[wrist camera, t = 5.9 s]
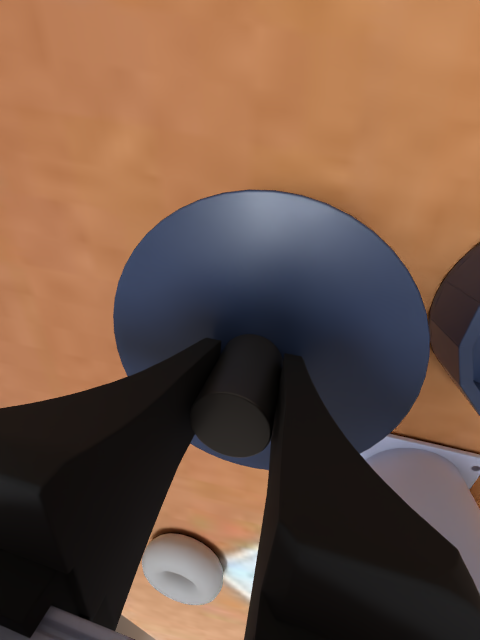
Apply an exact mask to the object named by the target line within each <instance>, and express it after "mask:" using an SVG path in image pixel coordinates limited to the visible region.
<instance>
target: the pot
mask: <svg viewBox="0 0 480 640" xmlns="http://www.w3.org/2000/svg"><path fill="white" fill-rule="evenodd" d="M429 333H430V343H431V346H432V349H433V352H434V354H435V355H436V357H437V359H438V360H439V362H440V363H441V364H442V366H443V367H444V369H445V370H446V372H447V373H448V375H449V376H450V378H451V379H452V380H453V382H454V383H455V384H456V386H457V387H458V388H459V389H460V391H461V392H462V393H463V395H464V396H465V397H466V399H467V400H468V401H469V403H470V404H471V405H472V406H473V408H474V409H475V410H476V412H477V413H478V414H479V416H480V243H479V244H478V245H477V246H475V247H474V248H473V249H472V250H470V251H469V252H468V253H467V254H466V255H465V256H464V257H463V258H462V259H461V260H460V261H459V262H458V263H457V264H456V265H455V266H454V268H453V269H452V270H451V271H450V272H449V273H448V275H447V276H446V278H445V279H444V281H443V282H442V284H441V285H440V287H439V289H438V291H437V293H436V295H435V297H434V300H433V303H432V306H431V310H430V315H429Z"/></svg>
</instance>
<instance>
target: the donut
mask: <svg viewBox="0 0 480 640" xmlns="http://www.w3.org/2000/svg"><path fill="white" fill-rule="evenodd" d="M142 567H143V572H144V575H145V577H146V578H147V580H148V581H149V583H150V584H151V585H152V586H153V587H154V588H155V589H156V590H157V591H159V592H160V593H162V594H163V595H165V596H167V597H169V598H171V599H173V600H175V601H178V602H181V603H184V604H189V605H203V604H206V603H209V602H211V601H212V600H214V599H215V597H216V596H217V595H218V594H219V592H220V591H221V588H222V584H223V568H222V566H221V564H220V562H219V559H218V557H217V556H216V555H215V554H214V553H213V551H212V550H211V549H210V548H208V547H207V546H205V545H204V544H203V543H201V542H200V541H198V540H196V539H194V538H192V537H188V536H185V535H181V534H172V533H169V534H163V535H160V536H158V537H156V538H155V539H153V540H152V541H151V542H150V543H149V544H148V546H147V547H146V549H145V552H144V554H143V557H142Z"/></svg>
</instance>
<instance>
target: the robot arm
mask: <svg viewBox="0 0 480 640" xmlns="http://www.w3.org/2000/svg"><path fill="white" fill-rule="evenodd" d="M220 353H221V340H216V339H211V338H204V339H202V340H200V341H199V342H197V343H195V344H193V345H192V346H190V347H188V348H186V349H184V350H183V351H181V352H179V353H177V354H175V355H173V356H172V357H170V358H168V359H166V360H164V361H162V362H160V363H158V364H155V365H153V366H151V367H149V368H147V369H145V370H143V371H140V372H138V373H136V374H133V375H131V376H128V377H125V378H123V379H120V380H117V381H115V382H112V383H109V384H105V385H102V386H99V387H95V388H92V389H89V390H86V391H82V392H79V393H75V394H71V395H67V396H63V397H58V398H54V399H49V400H45V401H40V402H35V403H30V404H24V405H18V406H12V407H6V408H0V640H135V639H132V638H130V637H127V636H125V635H122V634H120V633H118V632H115V630H116V627H117V624H118V621H119V618H120V616H121V613H122V610H123V607H124V604H125V602H126V599H127V596H128V593H129V591H130V588H131V585H132V582H133V580H134V577H135V574H136V571H137V569H138V566H139V563H140V561H141V558H142V555H143V553H144V550H145V548H146V545H147V542H148V540H149V537H150V534H151V532H152V529H153V527H154V524H155V522H156V519H157V517H158V514H159V512H160V509H161V507H162V504H163V502H164V499H165V497H166V494H167V492H168V489H169V487H170V485H171V482H172V480H173V477H174V475H175V473H176V470H177V468H178V466H179V464H180V462H181V460H182V458H183V456H184V454H185V452H186V450H187V448H188V446H189V444H190V443H191V441H192V439H193V437H194V435H195V433H194V431H193V429H192V427H191V423H190V411H191V407H192V405H193V404H194V402H195V400H196V398H197V396H198V395H199V393H200V391H201V389H202V387H203V386H204V384H205V382H206V380H207V378H208V377H209V375H210V373H211V371H212V370H213V368H214V366H215V364H216V362H217V361H218V359H219V357H220ZM479 476H480V455H479V454H475V453H471V452H467V451H462V450H458V449H454V448H449V447H445V446H441V445H436V444H432V443H428V442H423V441H419V440H415V439H410V438H406V437H402V436H397V435H393V434H388V435H387V436H386V437H385V438H384V439H383V440H381V441H380V442H378V443H377V444H375V445H374V446H373V447H371V448H370V449H368V450H366V451H364V452H362V453H360V454H359V453H358V451H357V450H356V449H355V448H354V447H353V445H352V444H351V443H350V442H349V440H348V439H347V438H346V436H345V435H344V434H343V432H342V431H341V429H340V428H339V427H338V425H337V424H336V422H335V421H334V419H333V418H332V416H331V415H330V413H329V411H328V410H327V408H326V406H325V405H324V403H323V401H322V399H321V398H320V396H319V394H318V392H317V390H316V388H315V386H314V384H313V382H312V380H311V377H310V375H309V373H308V370H307V368H306V365H305V362H304V359H303V358H302V356H297V355H292V354H287V353H285V354H284V359H283V364H282V370H281V376H280V382H279V390H278V399H277V405H276V411H275V418H274V424H273V430H272V436H271V447H270V462H269V478H268V488H267V497H266V503H265V510H264V516H263V523H262V529H261V536H260V542H259V549H258V555H257V561H256V568H255V574H254V580H253V587H252V593H251V600H250V606H249V612H248V618H247V625H246V631H245V637H244V640H480V509H479V507H478V505H477V503H476V502H475V500H474V498H473V496H472V494H471V492H470V488H471V487H472V485H473V484H474V483H475V481H476V480H477V478H478V477H479Z"/></svg>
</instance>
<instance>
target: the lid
mask: <svg viewBox="0 0 480 640" xmlns="http://www.w3.org/2000/svg"><path fill="white" fill-rule="evenodd" d="M113 318H114V333H115V339H116V344H117V349H118V352H119V355H120V359H121V362H122V365H123V367H124V369H125V371H126V374H127V376H131V375H133V374H136V373H138V372H140V371H143V370H145V369H147V368H149V367H151V366H153V365H155V364H158V363H160V362H162V361H164V360H166V359H168V358H170V357H172V356H173V355H175V354H177V353H179V352H181V351H183V350H184V349H186V348H188V347H190V346H192V345H193V344H195V343H197V342H199V341H200V340H202V339H204V338H211V339H216V340H221V353H220V357H219V359H218V361H217V362H216V364H215V366H214V368H213V370H212V371H211V373H210V375H209V377H208V378H207V380H206V382H205V384H204V386H203V387H202V389H201V391H200V393H199V395H198V396H197V398H196V400H195V402H194V404H193V405H192V407H191V411H190V423H191V427H192V429H193V431H194V433H195V435H194V437H193V439H192V441H191V443H190V444H192V445H194V446H195V447H197V448H199V449H201V450H203V451H205V452H207V453H209V454H211V455H214V456H216V457H218V458H221V459H223V460H226V461H229V462H233V463H236V464H239V465H243V466H248V467H252V468H258V469H265V470H269V462H270V447H271V436H272V430H273V424H274V418H275V411H276V405H277V399H278V390H279V382H280V376H281V370H282V364H283V359H284V354H285V353H287V354H292V355H297V356H302V358H303V359H304V362H305V365H306V368H307V370H308V373H309V375H310V377H311V380H312V382H313V384H314V386H315V388H316V390H317V392H318V394H319V396H320V398H321V399H322V401H323V403H324V405H325V406H326V408H327V410H328V411H329V413H330V415H331V416H332V418H333V419H334V421H335V422H336V424H337V425H338V427H339V428H340V429H341V431H342V432H343V434H344V435H345V436H346V438H347V439H348V440H349V442H350V443H351V444H352V445H353V447H354V448H355V449H356V450H357V451H358V453H359V454H360V453H362V452H364V451H366V450H368V449H370V448H371V447H373V446H374V445H375V444H377V443H378V442H380V441H381V440H383V439H384V438H385V437H386V436H387V435H388V434H389V433H391V432H392V431H393V430H394V429H395V428H396V427H397V426H398V425H399V424H400V422H401V421H402V420H403V419H404V417H405V416H406V415H407V414H408V412H409V411H410V409H411V407H412V406H413V404H414V402H415V400H416V399H417V397H418V395H419V393H420V390H421V387H422V385H423V382H424V379H425V376H426V371H427V366H428V361H429V352H430V333H429V326H428V320H427V313H426V310H425V307H424V304H423V301H422V298H421V295H420V292H419V290H418V288H417V286H416V284H415V282H414V281H413V279H412V277H411V275H410V273H409V271H408V269H407V268H406V267H405V265H404V264H403V263H402V261H401V260H400V259H399V257H398V256H397V255H396V254H395V252H394V251H393V250H392V249H391V248H390V247H389V246H388V245H387V244H386V243H385V242H384V241H383V240H382V239H381V238H380V237H379V236H378V235H377V234H376V233H375V232H374V231H372V230H371V229H370V228H368V227H367V226H365V225H364V224H362V223H361V222H360V221H358V220H357V219H355V218H354V217H352V216H351V215H349V214H347V213H345V212H343V211H341V210H339V209H337V208H335V207H333V206H331V205H329V204H327V203H324V202H321V201H318V200H315V199H312V198H309V197H306V196H303V195H299V194H293V193H287V192H282V191H276V190H242V191H234V192H225V193H221V194H217V195H214V196H210V197H206V198H203V199H200V200H198V201H195V202H193V203H191V204H189V205H186V206H184V207H182V208H180V209H178V210H177V211H175V212H174V213H172V214H171V215H169V216H168V217H166V218H164V219H163V220H162V221H160V222H159V223H158V224H157V225H156V226H155V227H154V228H153V229H152V230H150V231H149V232H148V233H147V234H146V235H145V237H144V238H143V239H142V240H141V242H140V243H139V244H138V245H137V247H136V248H135V249H134V251H133V253H132V254H131V256H130V258H129V259H128V261H127V263H126V265H125V267H124V269H123V272H122V275H121V277H120V280H119V282H118V287H117V291H116V296H115V302H114V314H113Z"/></svg>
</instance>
